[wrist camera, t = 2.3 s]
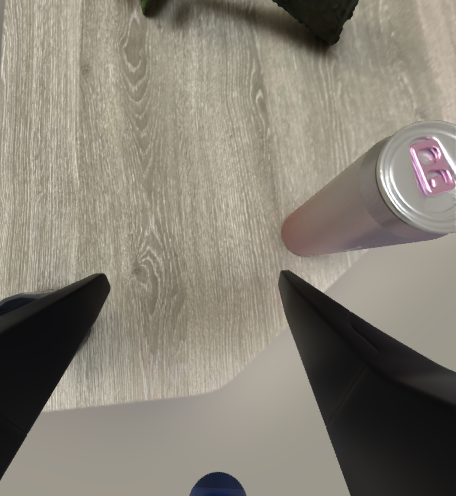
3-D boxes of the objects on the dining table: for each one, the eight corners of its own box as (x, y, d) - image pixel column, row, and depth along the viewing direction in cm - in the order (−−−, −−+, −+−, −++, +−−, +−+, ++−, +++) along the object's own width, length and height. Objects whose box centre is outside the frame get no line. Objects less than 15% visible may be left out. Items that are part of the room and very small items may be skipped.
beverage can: (317, 207, 24) (473, 103, 9) (331, 250, 23) (526, 218, 8) (274, 218, 23) (358, 131, 8) (287, 262, 23) (404, 251, 8)
